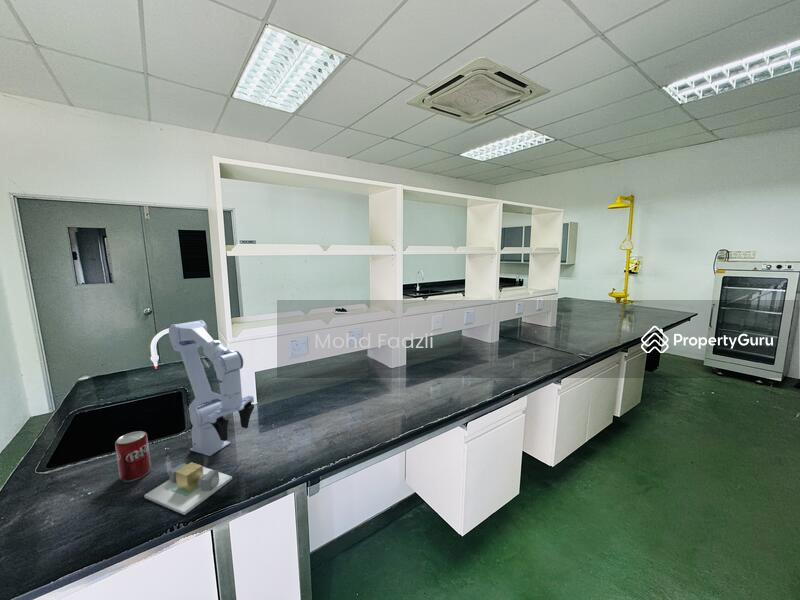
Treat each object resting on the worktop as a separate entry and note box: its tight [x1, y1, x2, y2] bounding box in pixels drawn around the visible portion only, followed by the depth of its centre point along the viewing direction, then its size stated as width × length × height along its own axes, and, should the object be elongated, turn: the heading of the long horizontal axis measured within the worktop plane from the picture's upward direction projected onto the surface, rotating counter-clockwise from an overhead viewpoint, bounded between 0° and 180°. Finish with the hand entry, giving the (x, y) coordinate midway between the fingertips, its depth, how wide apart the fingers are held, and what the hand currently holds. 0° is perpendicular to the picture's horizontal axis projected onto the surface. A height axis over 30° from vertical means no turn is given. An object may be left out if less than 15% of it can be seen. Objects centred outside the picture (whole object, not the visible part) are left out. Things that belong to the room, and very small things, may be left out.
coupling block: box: [176, 461, 204, 493], centre depth 89 cm, size 4×4×5 cm
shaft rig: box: [143, 462, 233, 516], centre depth 89 cm, size 16×14×4 cm
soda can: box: [114, 430, 152, 483], centre depth 94 cm, size 7×7×12 cm
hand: (234, 433), depth 99 cm, fingers open, 7 cm apart
